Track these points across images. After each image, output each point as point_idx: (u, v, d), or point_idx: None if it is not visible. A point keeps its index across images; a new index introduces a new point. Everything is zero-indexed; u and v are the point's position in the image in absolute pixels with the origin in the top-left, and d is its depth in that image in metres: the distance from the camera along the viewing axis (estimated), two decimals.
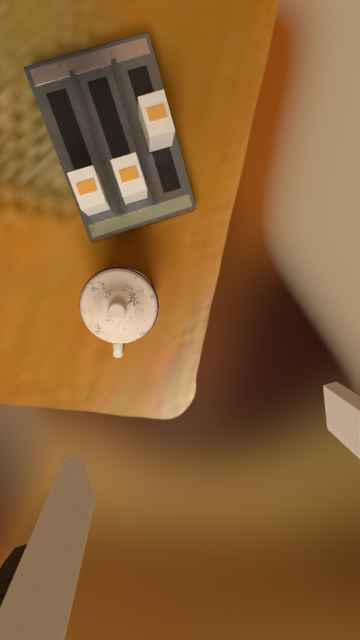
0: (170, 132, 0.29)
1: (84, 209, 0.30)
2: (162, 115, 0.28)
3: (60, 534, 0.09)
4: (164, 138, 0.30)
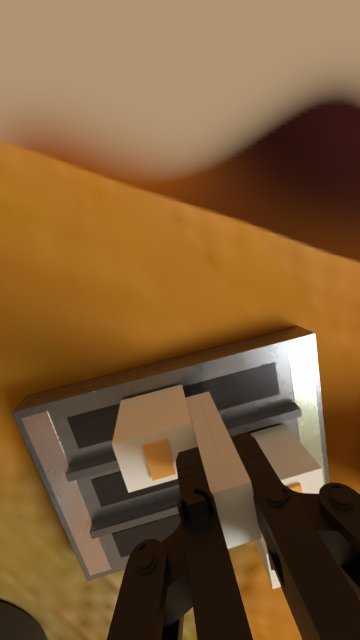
0: (192, 428, 0.13)
1: None
2: (164, 450, 0.12)
3: None
4: None
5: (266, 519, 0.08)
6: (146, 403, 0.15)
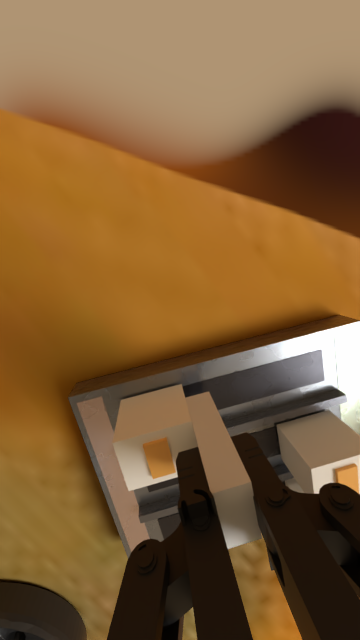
0: (192, 426, 0.13)
1: None
2: (165, 448, 0.13)
3: None
4: None
5: (266, 519, 0.08)
6: (146, 402, 0.15)
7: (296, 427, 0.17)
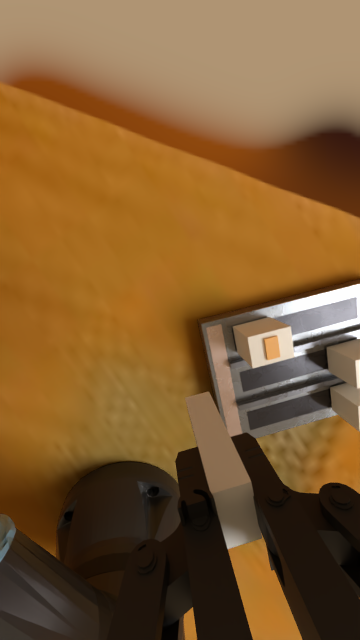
0: (290, 330, 0.23)
1: None
2: (276, 341, 0.22)
3: None
4: None
5: (266, 519, 0.08)
6: (252, 324, 0.25)
7: (340, 346, 0.27)
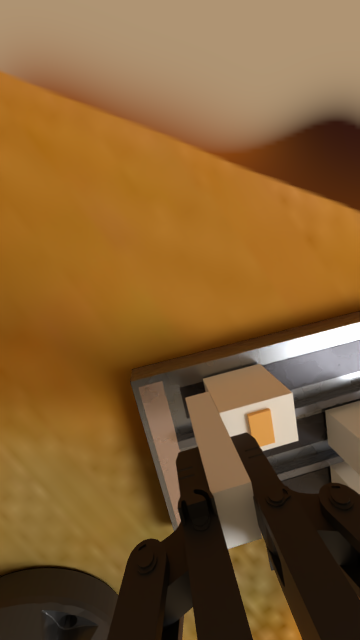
0: (291, 398, 0.14)
1: None
2: (267, 418, 0.13)
3: None
4: None
5: (266, 519, 0.08)
6: (232, 379, 0.16)
7: (346, 412, 0.18)
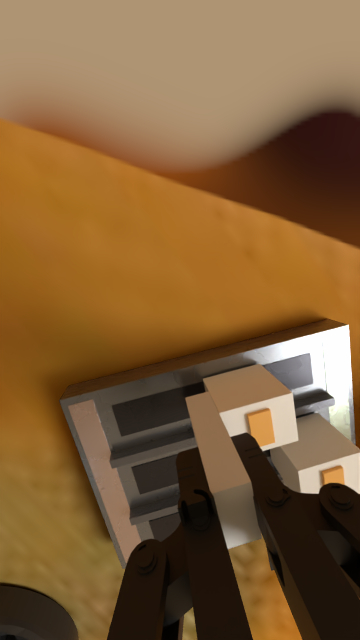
0: (291, 398, 0.14)
1: None
2: (267, 418, 0.13)
3: None
4: None
5: (266, 519, 0.08)
6: (232, 379, 0.16)
7: None
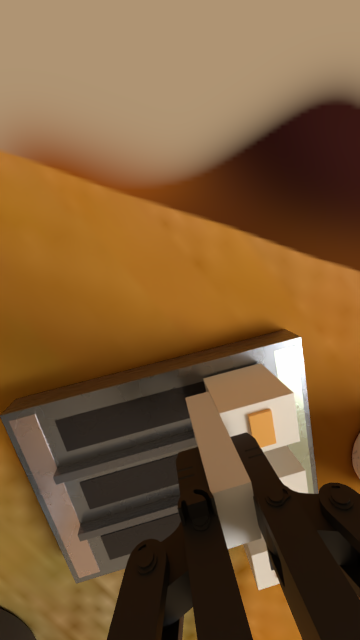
0: (292, 398, 0.13)
1: None
2: (268, 419, 0.13)
3: None
4: None
5: (266, 519, 0.08)
6: (233, 379, 0.16)
7: None
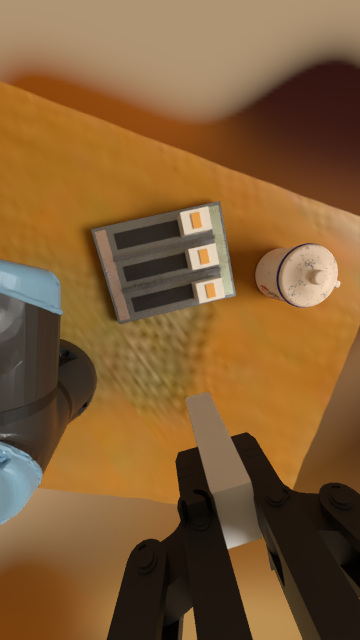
0: (208, 210, 0.35)
1: None
2: (198, 215, 0.35)
3: None
4: None
5: (266, 519, 0.08)
6: None
7: None
